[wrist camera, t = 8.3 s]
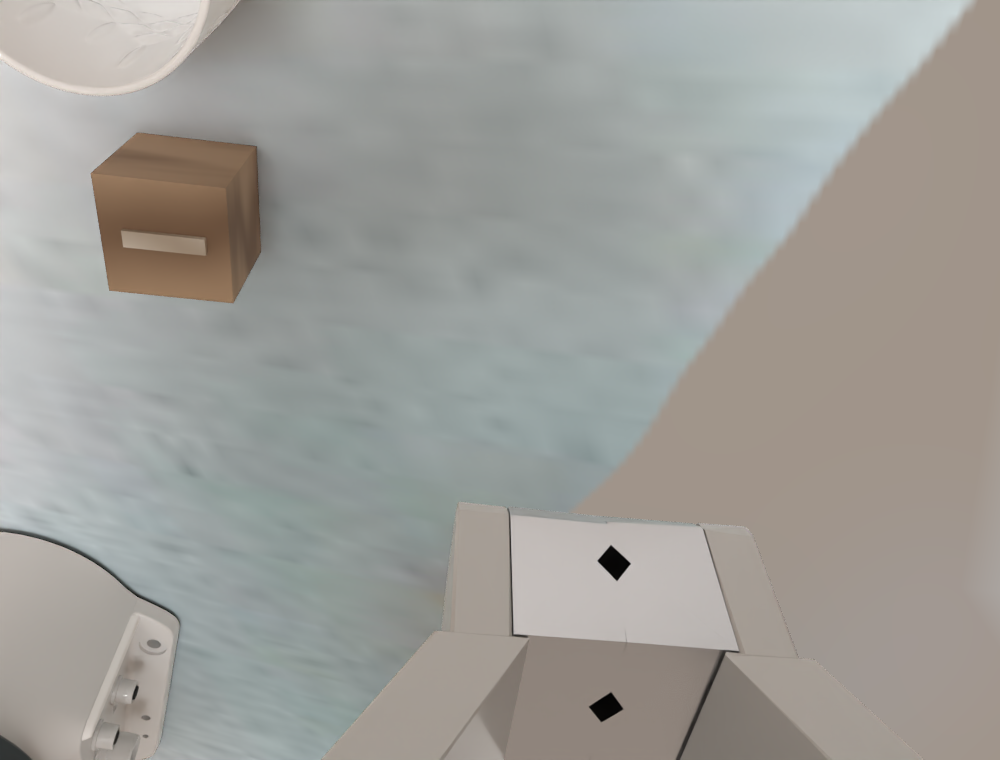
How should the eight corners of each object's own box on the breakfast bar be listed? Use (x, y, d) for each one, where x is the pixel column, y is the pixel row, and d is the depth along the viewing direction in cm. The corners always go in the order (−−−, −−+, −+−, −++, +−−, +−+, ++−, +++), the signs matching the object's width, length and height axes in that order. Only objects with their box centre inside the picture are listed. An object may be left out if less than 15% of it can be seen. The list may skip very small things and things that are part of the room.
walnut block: (261, 251, 39) (232, 305, 34) (151, 239, 38) (107, 292, 34) (256, 145, 36) (224, 190, 32) (137, 132, 35) (88, 174, 31)
